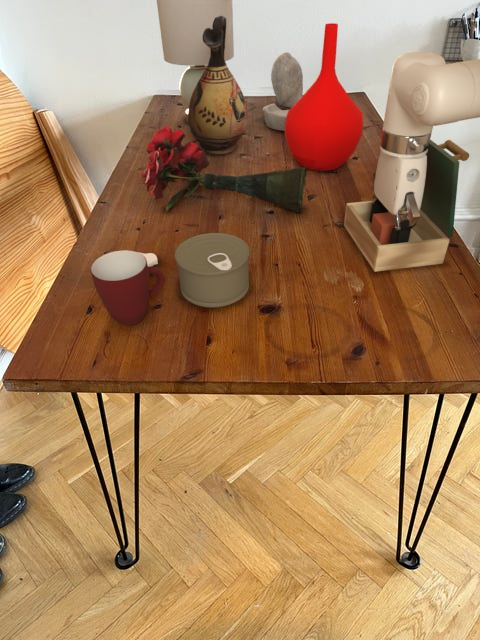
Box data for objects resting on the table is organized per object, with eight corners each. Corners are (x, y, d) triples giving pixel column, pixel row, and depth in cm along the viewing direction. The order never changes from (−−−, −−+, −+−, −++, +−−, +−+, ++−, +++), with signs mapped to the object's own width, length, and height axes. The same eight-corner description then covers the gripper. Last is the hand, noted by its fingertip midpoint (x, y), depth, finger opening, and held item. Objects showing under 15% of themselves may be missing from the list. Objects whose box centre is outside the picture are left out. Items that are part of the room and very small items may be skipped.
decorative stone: (299, 112, 150) (302, 59, 140) (267, 111, 152) (267, 58, 142) (305, 98, 161) (307, 47, 152) (274, 97, 163) (275, 47, 153)
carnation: (299, 238, 107) (148, 221, 111) (310, 161, 109) (162, 147, 113) (301, 212, 91) (125, 193, 95) (313, 123, 94) (142, 108, 98)
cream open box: (374, 271, 83) (378, 248, 80) (343, 225, 96) (346, 203, 92) (443, 263, 84) (449, 239, 81) (403, 218, 97) (408, 196, 94)
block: (392, 232, 91) (396, 211, 88) (401, 245, 88) (406, 223, 85) (369, 235, 91) (373, 213, 88) (378, 247, 87) (382, 225, 85)
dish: (257, 122, 144) (256, 105, 141) (297, 114, 148) (298, 97, 145) (280, 137, 134) (280, 119, 131) (322, 128, 138) (324, 110, 135)
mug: (149, 289, 81) (139, 237, 75) (179, 309, 77) (171, 256, 70) (95, 318, 76) (79, 265, 69) (124, 342, 71) (110, 288, 65)
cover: (454, 163, 72) (489, 153, 72) (407, 126, 85) (437, 118, 85) (448, 238, 81) (479, 229, 81) (406, 195, 94) (433, 187, 93)
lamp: (236, 129, 140) (230, -18, 117) (167, 131, 140) (148, -15, 118) (237, 108, 155) (232, -26, 132) (175, 110, 156) (160, -23, 133)
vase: (268, 163, 120) (269, 25, 101) (317, 144, 129) (327, 14, 110) (323, 186, 109) (336, 36, 90) (373, 163, 118) (395, 22, 99)
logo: (128, 254, 89) (112, 279, 83) (127, 251, 89) (111, 276, 83) (161, 257, 88) (147, 282, 82) (161, 253, 88) (146, 279, 82)
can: (230, 259, 87) (228, 226, 83) (263, 293, 79) (263, 258, 75) (168, 278, 83) (163, 244, 79) (197, 317, 75) (192, 281, 71)
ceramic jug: (243, 160, 122) (239, 24, 103) (184, 158, 125) (170, 24, 105) (253, 136, 135) (251, 11, 116) (199, 135, 137) (189, 11, 118)
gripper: (453, 158, 71) (428, 257, 82) (404, 121, 84) (388, 210, 95) (405, 163, 70) (386, 262, 81) (363, 125, 84) (352, 214, 95)
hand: (387, 234), depth 88 cm, fingers open, 8 cm apart
